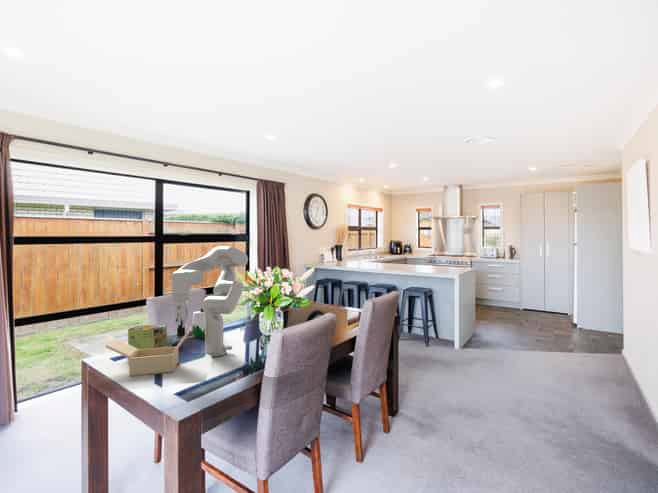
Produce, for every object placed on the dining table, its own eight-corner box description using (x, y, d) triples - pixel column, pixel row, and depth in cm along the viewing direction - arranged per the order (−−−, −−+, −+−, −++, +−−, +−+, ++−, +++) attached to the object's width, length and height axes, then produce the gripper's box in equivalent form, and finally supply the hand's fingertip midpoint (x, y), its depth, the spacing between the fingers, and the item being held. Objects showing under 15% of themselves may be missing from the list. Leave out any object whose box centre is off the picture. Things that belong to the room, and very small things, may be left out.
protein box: (154, 360, 174) (153, 329, 174) (127, 359, 177) (127, 328, 177) (167, 354, 185) (167, 325, 185) (142, 352, 188) (142, 324, 188)
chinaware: (152, 344, 204) (152, 331, 204) (180, 341, 209) (179, 329, 209) (149, 351, 190) (148, 337, 190) (178, 348, 195) (178, 334, 195)
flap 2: (178, 346, 170) (192, 327, 172) (174, 353, 158) (189, 333, 160) (176, 345, 170) (190, 326, 171) (172, 352, 158) (187, 332, 160)
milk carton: (208, 340, 220) (208, 309, 220) (193, 342, 216) (193, 310, 216) (206, 338, 228) (206, 307, 228) (192, 339, 224) (192, 308, 224)
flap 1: (137, 348, 165) (115, 338, 163) (130, 356, 154) (106, 344, 151) (136, 350, 165) (114, 339, 163) (129, 358, 154) (105, 347, 151)
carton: (178, 362, 171) (178, 346, 171) (173, 372, 157) (173, 354, 157) (138, 366, 166) (137, 349, 166) (129, 376, 153) (129, 358, 153)
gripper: (186, 299, 159) (187, 339, 158) (191, 295, 173) (191, 331, 173) (169, 299, 157) (169, 340, 157) (175, 295, 171) (175, 332, 171)
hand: (181, 335), depth 165 cm, fingers closed
